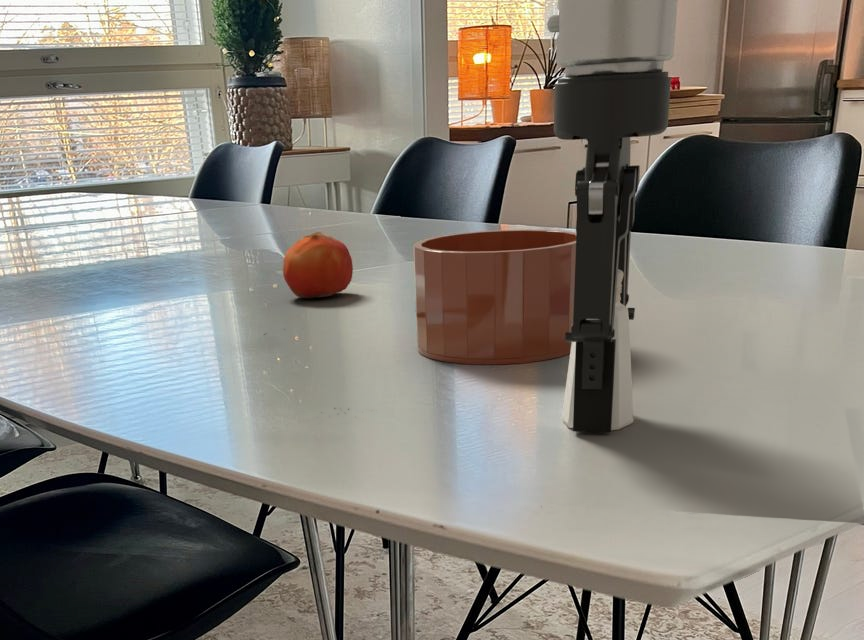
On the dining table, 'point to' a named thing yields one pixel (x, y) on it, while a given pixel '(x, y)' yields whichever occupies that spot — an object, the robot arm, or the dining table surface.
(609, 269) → the robot arm
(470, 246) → the crock
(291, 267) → the tomato
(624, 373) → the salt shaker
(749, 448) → the dining table surface
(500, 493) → the dining table surface
